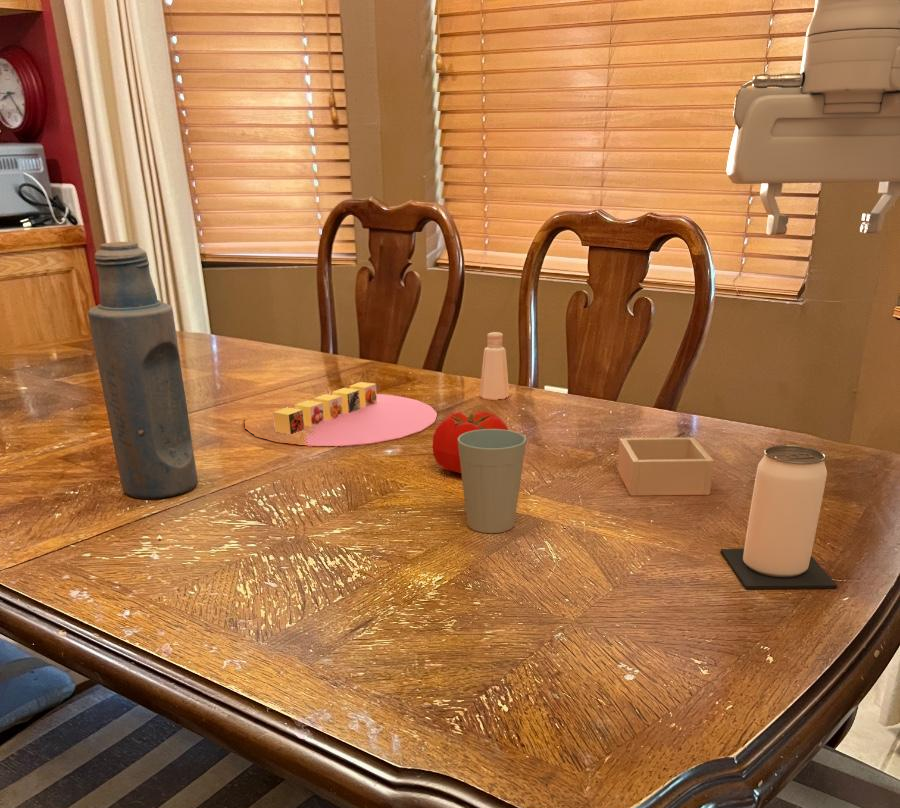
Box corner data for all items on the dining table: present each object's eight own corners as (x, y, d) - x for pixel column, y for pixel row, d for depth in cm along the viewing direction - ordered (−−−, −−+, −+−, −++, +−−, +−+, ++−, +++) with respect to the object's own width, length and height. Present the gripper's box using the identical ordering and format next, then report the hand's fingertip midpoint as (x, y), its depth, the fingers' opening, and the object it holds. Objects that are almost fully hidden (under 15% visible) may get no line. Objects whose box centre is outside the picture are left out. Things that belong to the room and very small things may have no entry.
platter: (200, 428, 138) (197, 407, 137) (326, 386, 162) (325, 368, 161) (360, 459, 123) (358, 436, 121) (472, 407, 147) (473, 388, 146)
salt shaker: (477, 400, 152) (478, 336, 147) (480, 392, 157) (480, 330, 152) (508, 400, 151) (509, 336, 146) (510, 393, 156) (511, 330, 151)
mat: (803, 551, 93) (804, 547, 93) (836, 588, 85) (837, 585, 85) (720, 552, 93) (720, 548, 93) (745, 589, 85) (746, 586, 85)
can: (730, 556, 91) (747, 446, 85) (785, 549, 92) (805, 441, 87) (763, 582, 85) (783, 466, 80) (821, 575, 87) (845, 461, 81)
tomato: (496, 454, 124) (497, 402, 121) (519, 478, 115) (521, 423, 111) (424, 460, 122) (423, 408, 119) (442, 486, 113) (441, 430, 109)
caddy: (690, 469, 117) (694, 437, 115) (709, 495, 108) (714, 460, 106) (617, 470, 117) (619, 438, 115) (630, 495, 109) (633, 461, 106)
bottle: (162, 471, 119) (122, 237, 106) (214, 482, 115) (179, 240, 101) (106, 492, 112) (55, 244, 98) (159, 505, 108) (113, 248, 94)
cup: (452, 514, 104) (452, 430, 99) (514, 510, 105) (517, 426, 100) (464, 539, 97) (464, 450, 92) (530, 534, 98) (533, 446, 93)
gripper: (748, 71, 77) (728, 237, 83) (977, 67, 77) (939, 234, 83) (728, 77, 83) (710, 232, 89) (942, 73, 82) (908, 229, 89)
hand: (822, 233), depth 86 cm, fingers open, 8 cm apart
